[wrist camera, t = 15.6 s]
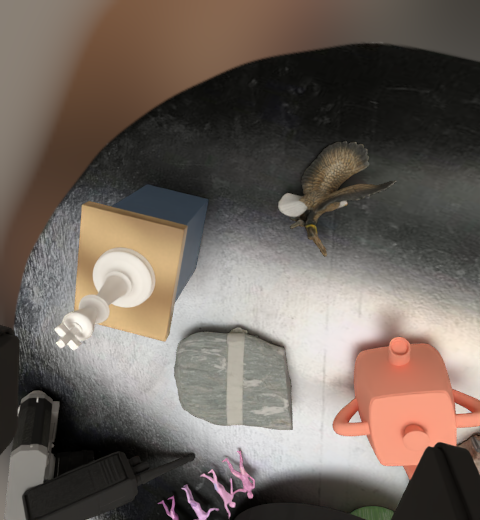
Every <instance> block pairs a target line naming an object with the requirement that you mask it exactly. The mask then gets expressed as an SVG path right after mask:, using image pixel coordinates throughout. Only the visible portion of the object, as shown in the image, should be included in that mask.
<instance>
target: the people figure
mask: <svg viewBox="0 0 480 520" xmlns="http://www.w3.org/2000/svg"><path fill="white" fill-rule="evenodd" d="M237 452H238V453H239V454H240V465H239V466H240V471H241V472H238V471H236V470H234V469H233V467H232V465H231V463H230V462H229V461H228V458H226V459H225V460H223V461H222V462H224V461H227V463H228V465H229V468H230V470H231V472H232V473H233V474H234V475H235V476H236V477H238V478H240V479H241V480H242V482H243V487H244V489H238V490H236V491H235V492H233V486H232V479H231V481H230V480H229V481H230V483H231V494H229V493H228V492H226V490H225V488H224V486H223V485H221V484H220V483H219V482H217V476H216V474H215V472H214V471H213V469H212V470H211V471H209V472H208V473H211V472H212V473H213V477H214V479H213V478H212V477H210V476H207V475H205V474H204V473H203V474H202V475H201V476H204V477H206V478H208V479H209V480H211V481H212V482H213V484H214V487H215V489H216V491H217V492H218V493H219V494H220V495H221V497H222V499H223V501H224V503H225V504H224V506H225V509H226V510H227V512H228V513H229V517H230V515H231V514H230V511H229V509H228V507H227V504H228V503H230V504H229V506H230V507H233V508H234V507H235V506H236V503H235V502H232V499H233V497H234V496H233V494H235V493H236V492H239V491H240V492H247V491H248V493H247V496H248V498H249V499H252V498H253V494H252V492H251V490H252V489H254V488H255V480H254V479H253V478H252V477H251V476H249V475H248V473H247V472H246V471H245V469H244V467H243V465H242V463H243V459H242V455H241V451H237ZM248 477H249V478H250V479H251V480H252V481H253V484H252V483H251V482H250V481H249V479H248ZM183 487H186V488H181V489H183V490H185V491H186V493H187V498H188V502H189V503H190V504H191V506H192V508H193V509H194V511H195V512H196V514H197V516H198V518H199V519H194V520H206V518H207V517H208V516H209V514H210V511H213V510H217V511H218V510H219V509H217V508H211V509H209V511H208V513H206V512H204V511H203V510H202V509H201V506H200V504H199V503H198V502H196V501H194V499H193V496H192V493H191V491H190V489H189V488H188V485H187V484H186V485H185V486H183ZM187 490H188V491H187ZM168 499H173V502H172V507H171V512H170V511H169V510H168V507H167V506H166V504H165V503H164V501H161V502H159V503H158V504H163V505H164V507H165V510H166V513H167V514H168V515H169V516H170V517H172V519H173V520H179V517H178V515H177V514H175V511H174V507H175V500H174V496H172V497H171V498H168ZM228 519H229V518H228Z"/></svg>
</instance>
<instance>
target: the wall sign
mask: <svg viewBox="0 0 480 520" xmlns="http://www.w3.org/2000/svg"><path fill="white" fill-rule="evenodd" d="M234 520H366V519H363V518H361V517H358V516H355V515H352V514H349V513H345V512H342V511H338V510H335V509H330V508H326V507H321V506H316V505H309V504H300V503H271V504H264V505H259V506H256V507H253V508H249V509H247V510H245V511H244V512H242V513H240V514H239V515H238V516H237V517H236V518H235V519H234Z"/></svg>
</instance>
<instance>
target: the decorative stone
mask: <svg viewBox="0 0 480 520" xmlns="http://www.w3.org/2000/svg"><path fill="white" fill-rule="evenodd" d="M270 343H272V342H270ZM174 372H175V373H174V376H175V379H176V385H177V388H178V395H179V400H180V403H181V406H182V408H183V409H184V410H186V411H188V412H189V413H190V414H192V415H193V416H195V417H197V418H201V419H204V420H206V421H208V422H210V423H212V424H216V425H222V426H231V425H246V426H257V427H264V428H270V429H278V430H292V429H293V427H292V399H291V387H292V386H291V379H290V377H289V373H288V366H287V360H286V353H285V349H284V347H283V348H282V347H278V346H276V345H275V344H269V342H267V341H265V340H262V339H259V336H258V335H256V336H255V335H254V336H252V335H249V334H247V330H243V329H241V327H239V328H235V329H233V330H232V331H231V330H230V332H229V333H214V332H207V331H206V332H199V333H195V334H192V335H190V336H188V337H187V338H185V339H183V340H182V341H181V342H180V343H179V344H178V347H177V352H176V362H175V367H174Z"/></svg>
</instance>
